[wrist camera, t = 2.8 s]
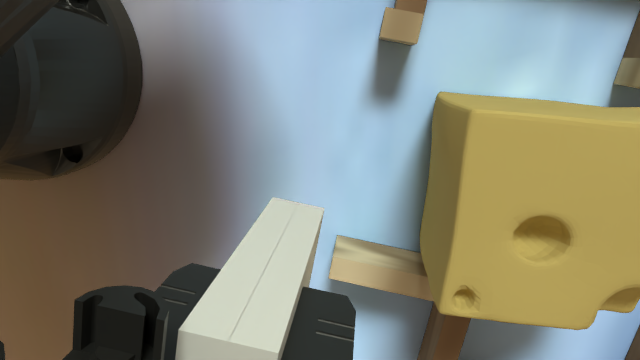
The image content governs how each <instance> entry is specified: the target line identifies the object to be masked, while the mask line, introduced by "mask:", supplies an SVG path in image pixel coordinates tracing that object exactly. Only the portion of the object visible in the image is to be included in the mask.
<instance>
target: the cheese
mask: <svg viewBox="0 0 640 360" xmlns="http://www.w3.org/2000/svg"><path fill="white" fill-rule="evenodd" d="M420 250H421V255H422V260H423V263H424V267H425V270H426V273H427V276H428V282H429V286H430V291H431V294H432V296H433V299H434V302H435V304H436V307H437V309H438V311H439V312H440V313H442V314H445V315H452V316H460V317H467V318H475V319H485V320H492V321H498V322H506V323H516V324H526V325H536V326H546V327H555V328H563V329H574V330H581V329H587V328H588V327H590V326H591V324H592V323H593V322H594V320H595V317H596V314H597V311H598V310H608V311H614V312H620V313H629V312H632V311H633V310H634V308H635V306H636V304H637V302H638V301H639V299H640V107H600V106H592V105H583V104H574V103H566V102H558V101H549V100H537V99H524V98H510V97H496V96H481V95H469V94H459V93H449V92H439V93H438V94H437V97H436V101H435V106H434V112H433V121H432V145H431V157H430V168H429V178H428V185H427V192H426V199H425V205H424V211H423V217H422V223H421V229H420Z"/></svg>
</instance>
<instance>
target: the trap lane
mask: <svg viewBox="0 0 640 360" xmlns="http://www.w3.org/2000/svg"><path fill="white" fill-rule="evenodd" d="M426 3H427V0H396V1H395V5H394V8H388V7H386V9H385V12H384V16H383V21H382V26H381V31H380V35H379V39H381V40H387V41H392V42H397V43H402V44H408V45H414V44H417V42H418V37H419V33H420V29H421V25H422V20H423V16H424V12H425V8H426ZM613 84H617V85H622V86H627V87H633V88H638V89H640V11H639V14H638V17H637V19H636V22H635V25H634V28H633V31H632V33H631V36H630V39H629V42H628V44H627V47H626V50H625V53H624V56H623V58H622V61H621V64H620V67H619V70H618V72H617V75H616V78H615V81H614V83H613ZM329 279H334V280H339V281H343V282H348V283H352V284H357V285H361V286H366V287H370V288H375V289H379V290H384V291H388V292H393V293H397V294H402V295H406V296H411V297H415V298H420V299H424V300H429V301H433V302H434V299H433V296H432V294H431V291H430V286H429V282H428V276H427V273H426V270H425V267H424V263H423V260H422V255H421V253H419V252H414V251H409V250H405V249H400V248H396V247H391V246H386V245H382V244H377V243H372V242H368V241H363V240H358V239H354V238H349V237H345V236H340V235H337V238H336V243H335V248H334V253H333V258H332V263H331V268H330V273H329ZM470 320H471V318H467V317H460V316H452V315H445V314H442V313H440V312H439V311H438V309H437V307H436V304H435V302H434V303H433V306H432V310H431V313H430V317H429V320H428V324H427V327H426V330H425V334H424V337H423V341H422V344H421V348H420V351H419V355H418V358H417V360H458V357H459V354H460V351H461V348H462V345H463V342H464V338H465V335H466V332H467V329H468V326H469V323H470ZM625 360H640V326H639V329H638V331H637V333H636V335H635V338H634V340H633V342H632V344H631V347H630V349H629V351H628V354H627V356H626V358H625Z"/></svg>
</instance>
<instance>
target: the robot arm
mask: <svg viewBox="0 0 640 360" xmlns="http://www.w3.org/2000/svg"><path fill="white" fill-rule="evenodd" d="M141 85H142V65H141V56H140V50H139V45H138V41H137V38H136V34H135V31H134V28H133V26H132V23H131V21H130V18H129V16H128V14H127V12H126V10H125V8H124V6H123V4H122V3H121V1H120V0H0V179H14V180H42V179H49V178H54V177H59V176H62V175H65V174H68V173H71V172H73V171H76V170H79V169H81V168H84V167H86V166H89V165H91V164H93V163H95V162H96V161H98V160H100V159H101V158H103V157H104V156H105V155H107V154H108V153H109V152H110V151H111V150H112V149H114V147H115V146H116V145H117V144H118V143H119V142H120V141H121V139H122V138H123V137H124V135H125V134H126V132H127V131H128V129H129V127H130V125H131V123H132V121H133V118H134V116H135V113H136V110H137V107H138V103H139V99H140V93H141ZM323 213H324V208H321V207H317V206H312V205H307V204H303V203H298V202H293V201H289V200H284V199H279V198H274V197H273V198H272V199H271V200H270V202H269V203H268V205H267V206H266V207H265V209H264V210H263V212H262V213H261V214H260V216H259V217H258V219H257V220H256V222H255V223H254V224H253V226H252V227H251V229H250V230H249V231H248V233H247V234H246V236H245V237H244V238H243V240H242V241H241V243H240V244H239V245H238V247H237V248H236V250H235V251H234V252H233V254H232V255H231V257H230V258H229V260H228V261H227V262H226V264H225V265H224V267H223V268H222V269H221V270H220V269H215V268H211V267H207V266H202V265H198V264H193V263H191V264H189V265H187V266H185V267H182V268H180V269H178V270H176V271H174V272H173V273H172V274H171V275H170V276H169V277H168V278H167V279H166V280H165V281H164V282H163V283H162V285H161V287H159V288H158V289H157V290H156V291H155V292H153V291H150V290H148V289H145V288H142V287H133V286H112V287H104V288H101V289H97V290H94V291H90V292H88V293H86V294H84V295H83V296H81V297H79V298H77V299H76V300H75V304H74V329H73V350H72V351H71V352H70V353H69V354H68V355H67V356H66V357H65V358H63V359H62V360H353V347H354V332H355V329H354V328H355V316H356V311H355V309H354V307H353V305H352V304H351V302H350V300H349V298H348V297H347V296H344V295H339V294H335V293H330V292H326V291H321V290H317V289H312V288H309V283H310V278H311V273H312V268H313V263H314V258H315V253H316V248H317V243H318V238H319V233H320V228H321V223H322V218H323ZM0 360H5V351H4V344H3V343H2V342H1V341H0Z"/></svg>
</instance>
